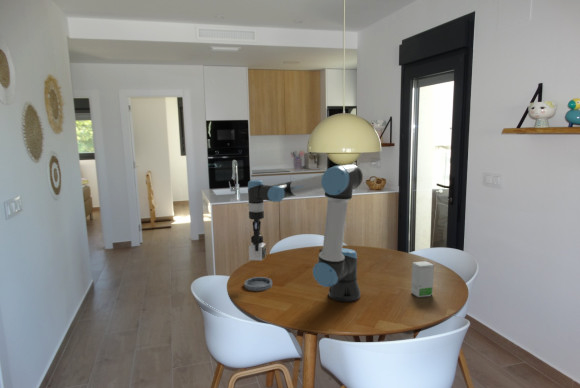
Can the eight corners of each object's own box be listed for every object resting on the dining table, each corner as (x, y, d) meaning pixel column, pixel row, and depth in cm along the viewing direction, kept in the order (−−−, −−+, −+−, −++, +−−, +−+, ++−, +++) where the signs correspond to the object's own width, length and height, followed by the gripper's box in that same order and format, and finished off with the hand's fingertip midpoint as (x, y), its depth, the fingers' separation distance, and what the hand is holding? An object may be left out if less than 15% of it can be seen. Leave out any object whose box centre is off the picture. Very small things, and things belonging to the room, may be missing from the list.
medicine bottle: (262, 260, 203) (261, 237, 201) (249, 260, 204) (248, 237, 202) (266, 256, 210) (265, 234, 208) (253, 255, 211) (252, 233, 209)
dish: (277, 285, 210) (277, 281, 209) (257, 293, 200) (257, 289, 199) (259, 278, 219) (259, 275, 219) (239, 286, 209) (239, 282, 209)
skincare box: (417, 297, 191) (419, 266, 189) (410, 292, 197) (411, 262, 195) (433, 295, 193) (434, 264, 191) (425, 290, 200) (426, 260, 197)
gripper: (250, 206, 213) (251, 248, 217) (247, 215, 193) (248, 260, 196) (264, 206, 214) (265, 248, 217) (262, 214, 193) (264, 260, 197)
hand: (257, 254), depth 207 cm, fingers closed on medicine bottle, 8 cm apart
